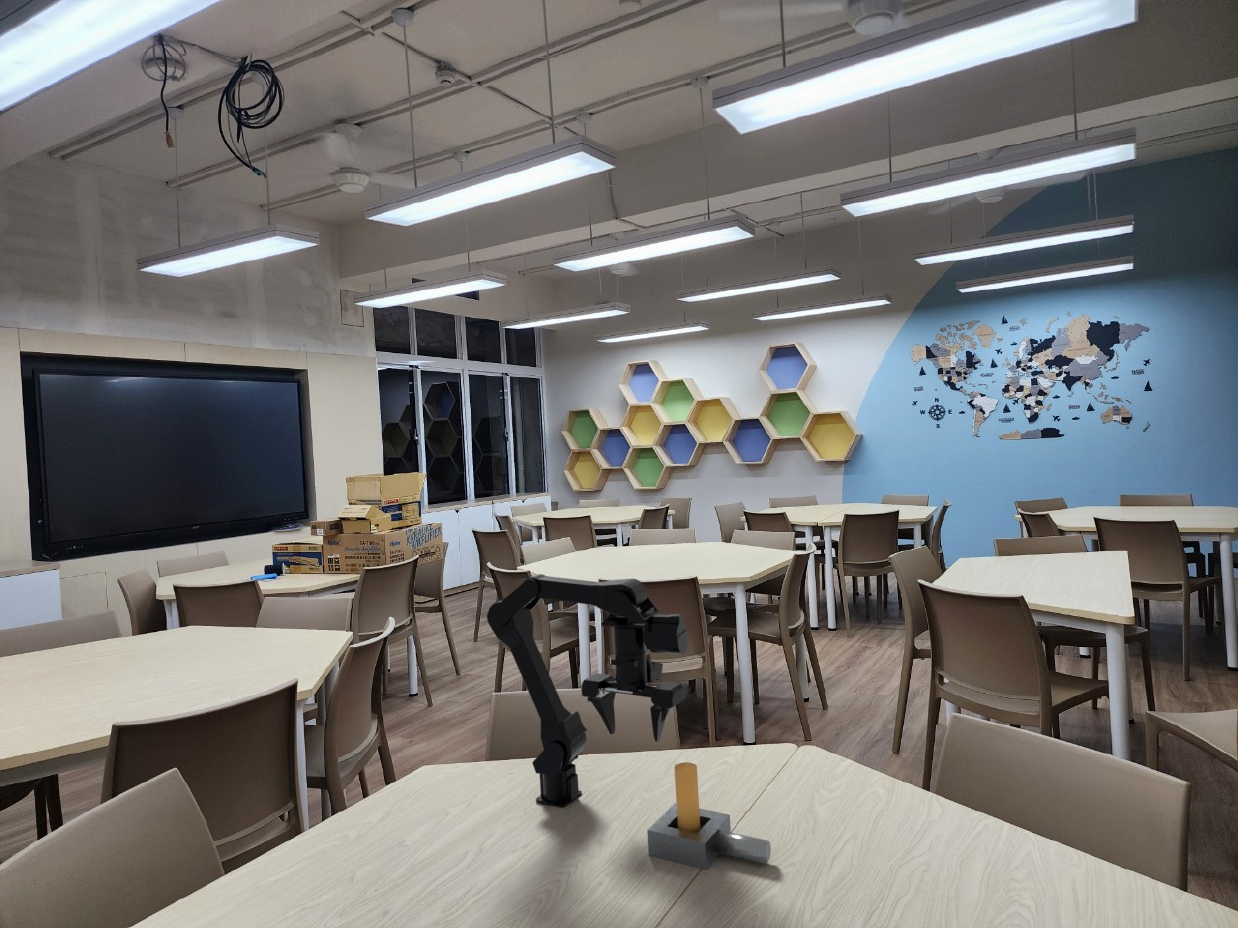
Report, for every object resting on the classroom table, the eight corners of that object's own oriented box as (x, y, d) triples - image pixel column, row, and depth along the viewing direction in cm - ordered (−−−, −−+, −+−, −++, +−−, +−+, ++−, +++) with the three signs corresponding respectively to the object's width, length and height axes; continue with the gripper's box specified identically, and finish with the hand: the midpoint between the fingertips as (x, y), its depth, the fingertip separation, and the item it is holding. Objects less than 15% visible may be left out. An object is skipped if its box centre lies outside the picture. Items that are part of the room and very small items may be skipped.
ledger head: (648, 854, 121) (647, 829, 121) (676, 826, 129) (674, 803, 129) (756, 881, 111) (755, 854, 111) (778, 849, 120) (777, 824, 120)
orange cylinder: (678, 852, 121) (673, 771, 121) (679, 840, 124) (675, 762, 124) (701, 852, 120) (696, 771, 120) (701, 841, 124) (697, 762, 124)
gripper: (696, 643, 138) (700, 728, 138) (608, 636, 148) (613, 715, 148) (668, 659, 129) (673, 751, 129) (577, 650, 138) (581, 735, 138)
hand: (634, 737), depth 136 cm, fingers open, 9 cm apart
